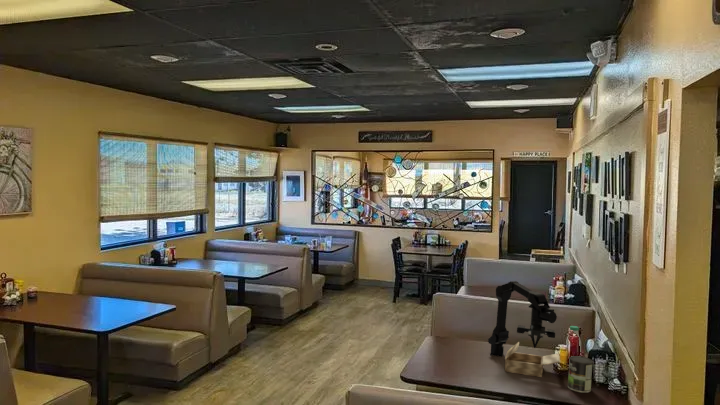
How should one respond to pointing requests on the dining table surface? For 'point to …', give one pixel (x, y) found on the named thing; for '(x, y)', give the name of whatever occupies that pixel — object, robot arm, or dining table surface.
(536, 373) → the carton
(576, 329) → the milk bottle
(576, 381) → the coffee can
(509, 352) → the flap
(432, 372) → the dining table surface
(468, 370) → the dining table surface
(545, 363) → the flap
